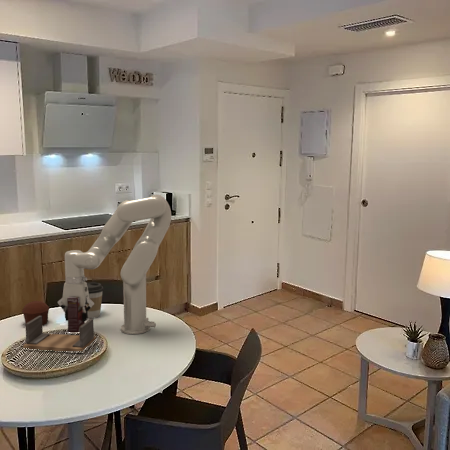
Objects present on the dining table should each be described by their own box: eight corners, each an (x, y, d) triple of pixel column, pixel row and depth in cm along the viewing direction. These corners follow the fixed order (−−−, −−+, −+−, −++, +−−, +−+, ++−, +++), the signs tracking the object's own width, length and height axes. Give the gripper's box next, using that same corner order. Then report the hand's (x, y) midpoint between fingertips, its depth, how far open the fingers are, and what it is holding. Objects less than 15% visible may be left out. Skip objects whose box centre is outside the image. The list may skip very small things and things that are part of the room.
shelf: (96, 341, 191) (95, 317, 190) (82, 354, 179) (81, 328, 177) (41, 337, 195) (40, 314, 194) (23, 350, 182) (22, 325, 181)
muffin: (55, 321, 214) (54, 300, 213) (36, 329, 204) (35, 307, 203) (36, 318, 219) (35, 297, 218) (16, 325, 209) (15, 303, 208)
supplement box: (79, 335, 198) (77, 298, 196) (67, 334, 198) (66, 298, 196) (85, 327, 207) (84, 292, 205) (74, 327, 207) (73, 292, 205)
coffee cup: (109, 314, 224) (108, 284, 222) (91, 321, 215) (90, 289, 213) (92, 310, 230) (91, 280, 228) (74, 317, 221) (73, 285, 219)
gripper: (98, 278, 202) (99, 318, 204) (60, 276, 204) (61, 316, 207) (90, 282, 195) (92, 324, 197) (51, 281, 197) (53, 322, 200)
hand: (76, 320), depth 202 cm, fingers open, 6 cm apart
